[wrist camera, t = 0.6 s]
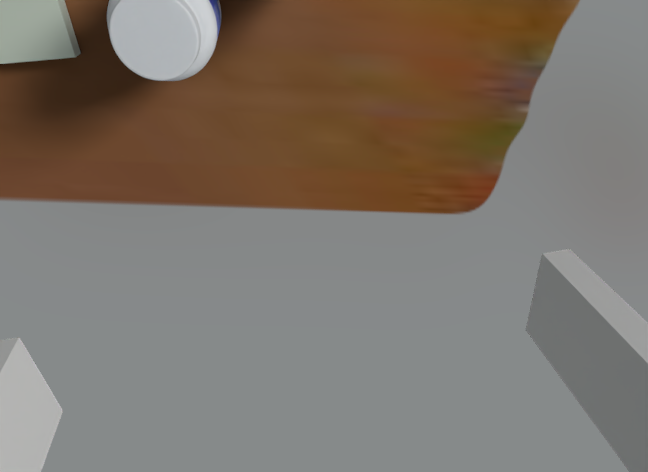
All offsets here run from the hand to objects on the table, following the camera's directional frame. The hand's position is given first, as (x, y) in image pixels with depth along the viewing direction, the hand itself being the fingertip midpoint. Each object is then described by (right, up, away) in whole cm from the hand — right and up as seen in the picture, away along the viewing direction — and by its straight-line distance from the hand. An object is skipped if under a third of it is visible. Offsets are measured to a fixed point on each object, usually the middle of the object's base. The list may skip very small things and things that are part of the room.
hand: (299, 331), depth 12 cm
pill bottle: (-9, +17, +18) cm, 26 cm away
